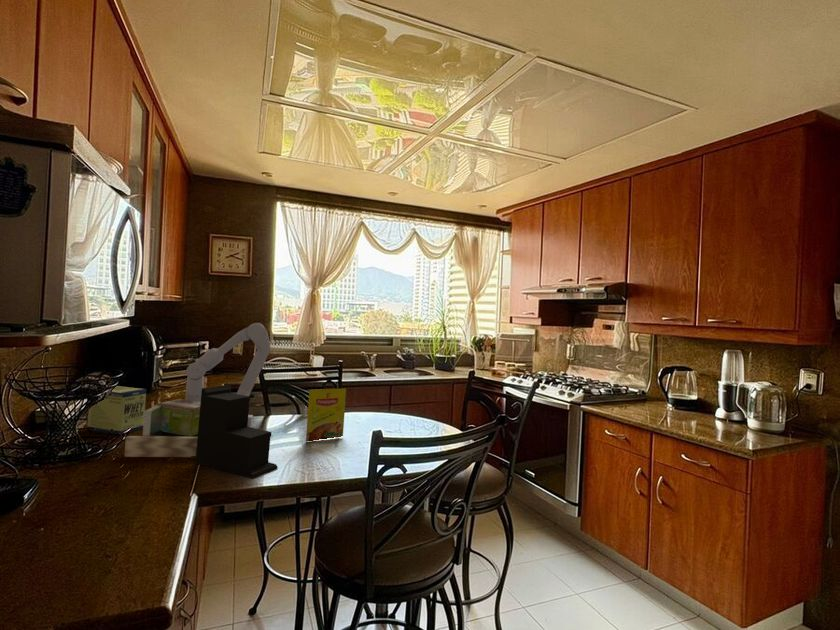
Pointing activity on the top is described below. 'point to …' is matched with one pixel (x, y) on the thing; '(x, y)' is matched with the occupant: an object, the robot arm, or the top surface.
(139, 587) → the top surface
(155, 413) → the small book
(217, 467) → the black stepped block
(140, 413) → the protein box
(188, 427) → the tea box
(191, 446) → the shelf wall
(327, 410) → the food package
